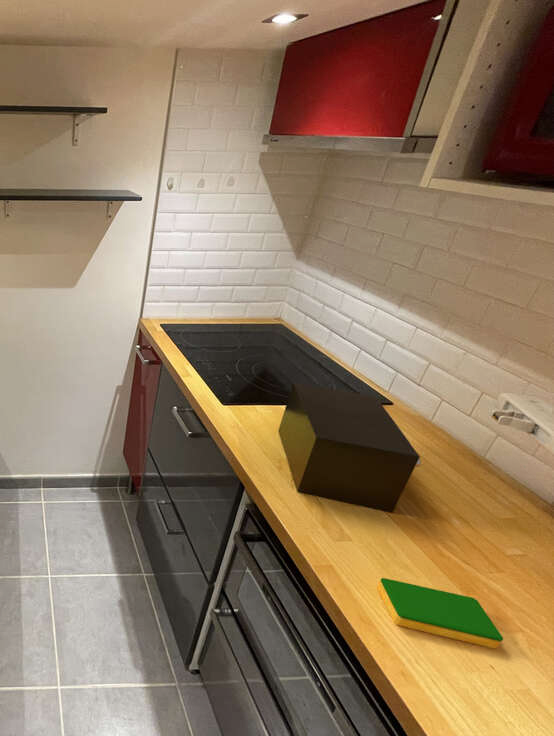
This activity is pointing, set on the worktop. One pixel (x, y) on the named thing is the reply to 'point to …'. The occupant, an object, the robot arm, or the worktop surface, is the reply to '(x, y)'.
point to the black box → (345, 447)
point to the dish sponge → (438, 612)
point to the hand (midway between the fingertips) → (495, 416)
